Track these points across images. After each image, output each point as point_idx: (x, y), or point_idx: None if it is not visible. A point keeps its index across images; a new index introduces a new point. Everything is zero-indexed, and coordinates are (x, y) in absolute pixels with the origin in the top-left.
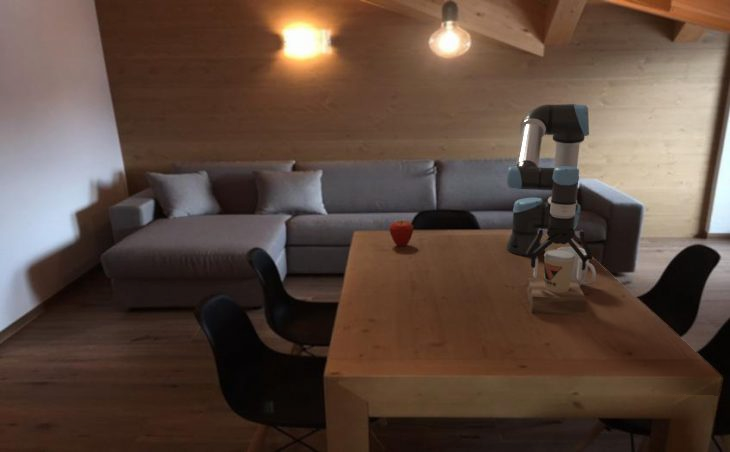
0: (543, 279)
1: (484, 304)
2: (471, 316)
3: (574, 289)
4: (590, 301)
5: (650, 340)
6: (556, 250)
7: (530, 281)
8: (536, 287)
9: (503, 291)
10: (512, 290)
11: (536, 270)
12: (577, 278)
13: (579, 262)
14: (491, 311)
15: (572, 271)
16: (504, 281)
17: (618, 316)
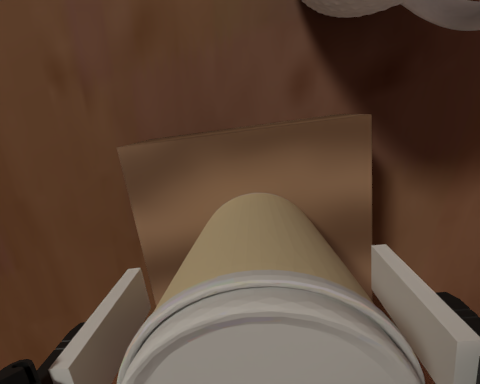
0: (196, 148)
1: (32, 271)
2: (25, 353)
3: (340, 241)
4: (396, 147)
5: None
6: (236, 324)
7: (136, 194)
8: (170, 260)
9: (60, 140)
10: (90, 119)
11: (128, 341)
12: (372, 274)
13: (440, 377)
14: (66, 312)
15: (373, 5)
16: (33, 13)
17: (463, 253)
